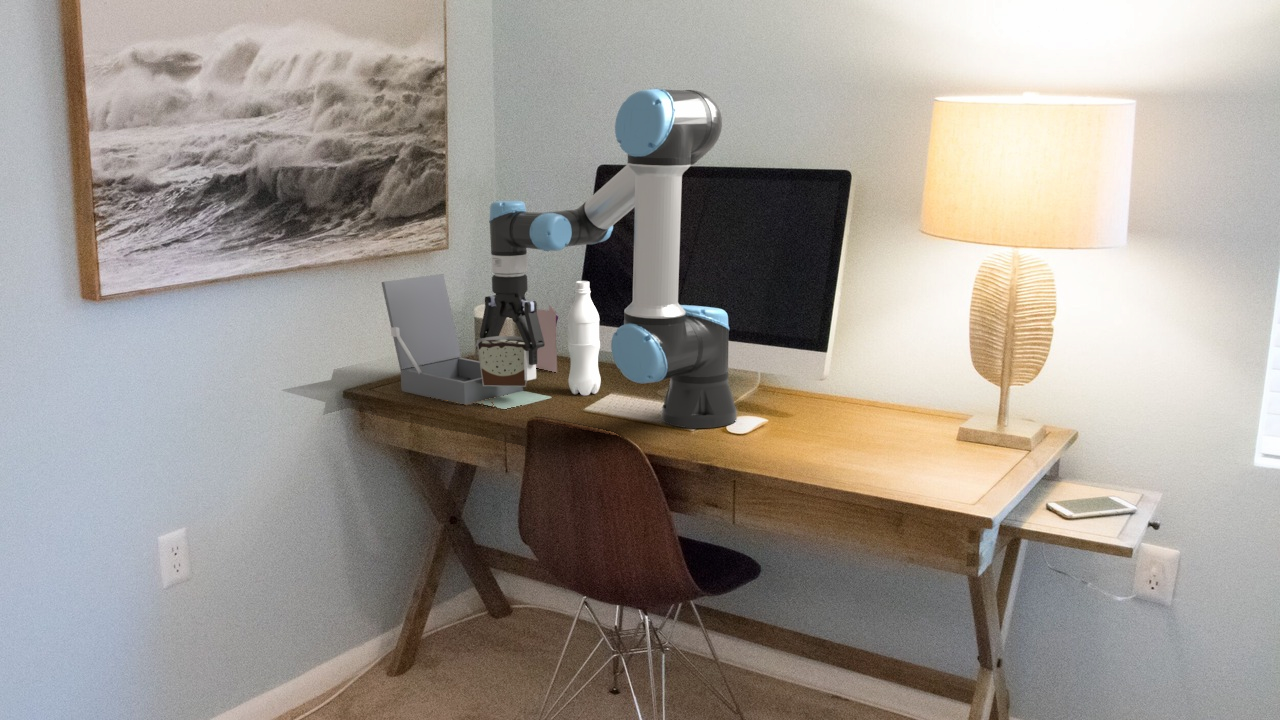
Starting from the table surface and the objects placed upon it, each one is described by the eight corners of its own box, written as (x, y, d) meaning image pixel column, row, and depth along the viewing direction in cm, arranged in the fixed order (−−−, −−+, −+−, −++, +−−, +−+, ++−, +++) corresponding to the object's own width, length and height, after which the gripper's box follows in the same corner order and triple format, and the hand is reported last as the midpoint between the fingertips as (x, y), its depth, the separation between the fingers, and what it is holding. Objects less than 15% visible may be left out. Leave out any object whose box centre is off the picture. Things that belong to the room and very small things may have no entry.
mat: (551, 398, 248) (551, 396, 248) (503, 410, 237) (503, 408, 237) (523, 392, 254) (523, 390, 254) (475, 403, 243) (475, 402, 243)
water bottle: (582, 398, 247) (579, 285, 242) (562, 392, 252) (559, 281, 247) (607, 393, 252) (605, 281, 247) (587, 387, 257) (585, 278, 252)
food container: (537, 380, 248) (536, 335, 246) (532, 386, 242) (531, 341, 240) (481, 379, 249) (480, 335, 247) (476, 386, 243) (474, 340, 241)
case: (523, 391, 254) (519, 282, 249) (464, 405, 242) (459, 291, 237) (445, 374, 272) (440, 273, 267) (386, 387, 259) (380, 281, 254)
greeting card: (560, 372, 273) (559, 311, 270) (530, 374, 271) (528, 312, 268) (554, 363, 284) (552, 304, 281) (524, 364, 282) (522, 305, 279)
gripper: (460, 271, 245) (464, 371, 249) (534, 280, 230) (537, 386, 234) (486, 268, 250) (490, 365, 255) (560, 276, 235) (562, 380, 240)
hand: (512, 375), depth 244 cm, fingers closed on food container, 10 cm apart
